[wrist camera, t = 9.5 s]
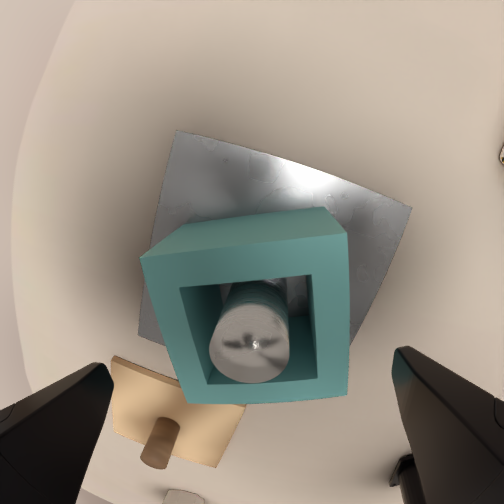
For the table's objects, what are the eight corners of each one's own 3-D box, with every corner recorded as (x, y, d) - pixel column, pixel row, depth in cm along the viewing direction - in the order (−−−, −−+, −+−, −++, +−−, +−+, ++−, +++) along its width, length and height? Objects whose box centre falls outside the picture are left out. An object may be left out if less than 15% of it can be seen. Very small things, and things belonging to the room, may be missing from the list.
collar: (324, 206, 13) (347, 232, 9) (331, 331, 15) (346, 394, 11) (183, 224, 14) (139, 257, 10) (210, 341, 16) (187, 403, 12)
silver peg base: (404, 204, 14) (481, 241, 7) (321, 380, 18) (332, 468, 11) (182, 131, 14) (109, 117, 7) (143, 326, 18) (91, 399, 11)
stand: (246, 401, 19) (238, 453, 15) (217, 463, 22) (208, 502, 18) (114, 355, 19) (84, 395, 15) (116, 427, 22) (97, 461, 18)
